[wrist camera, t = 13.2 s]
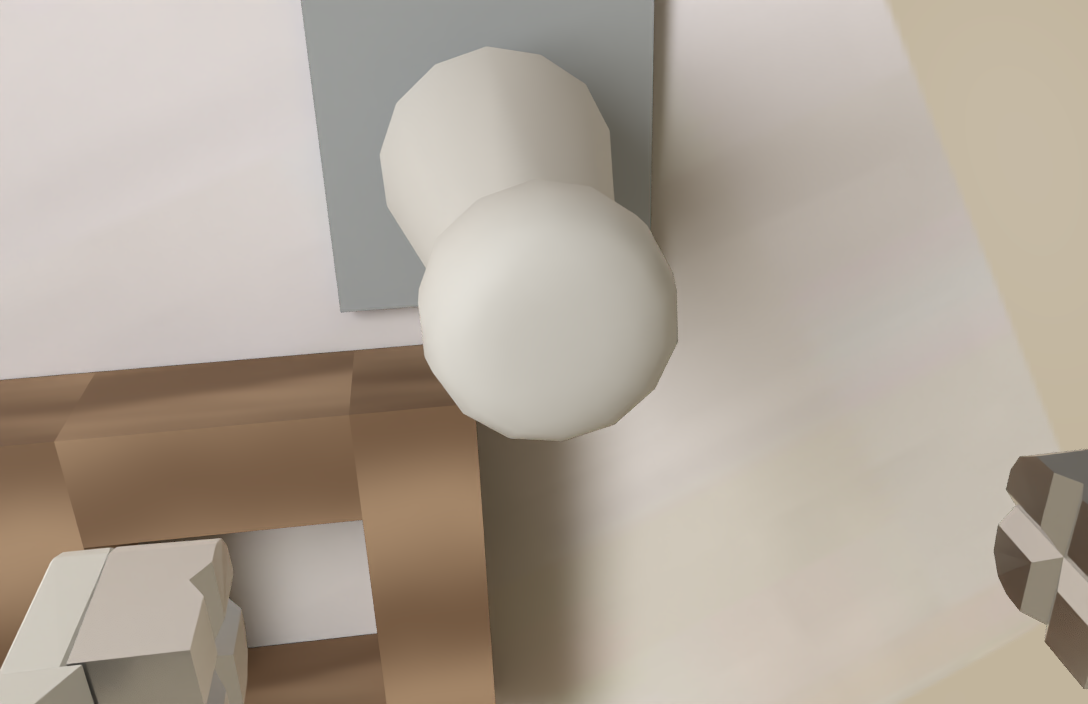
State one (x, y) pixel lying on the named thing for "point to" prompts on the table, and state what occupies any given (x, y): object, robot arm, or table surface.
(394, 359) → the socket block
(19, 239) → the table surface
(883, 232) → the table surface
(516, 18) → the coaster
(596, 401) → the salt shaker
